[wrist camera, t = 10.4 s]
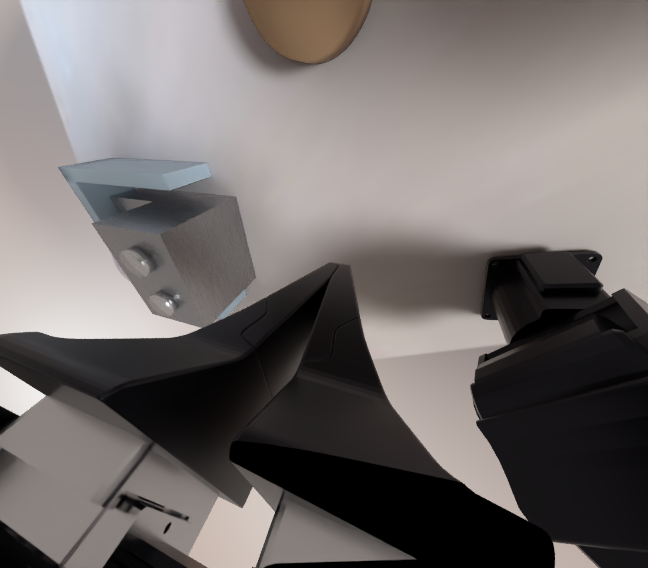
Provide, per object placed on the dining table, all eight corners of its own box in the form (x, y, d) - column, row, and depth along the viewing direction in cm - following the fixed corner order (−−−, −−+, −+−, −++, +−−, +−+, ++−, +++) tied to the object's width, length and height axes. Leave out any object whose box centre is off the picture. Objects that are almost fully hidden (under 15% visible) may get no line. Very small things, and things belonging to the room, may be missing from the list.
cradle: (207, 162, 21) (162, 174, 18) (246, 294, 32) (223, 320, 28) (112, 158, 25) (57, 167, 21) (175, 278, 35) (145, 299, 31)
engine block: (236, 196, 23) (149, 239, 15) (256, 277, 29) (200, 335, 22) (140, 187, 26) (31, 219, 19) (176, 261, 32) (104, 307, 25)
